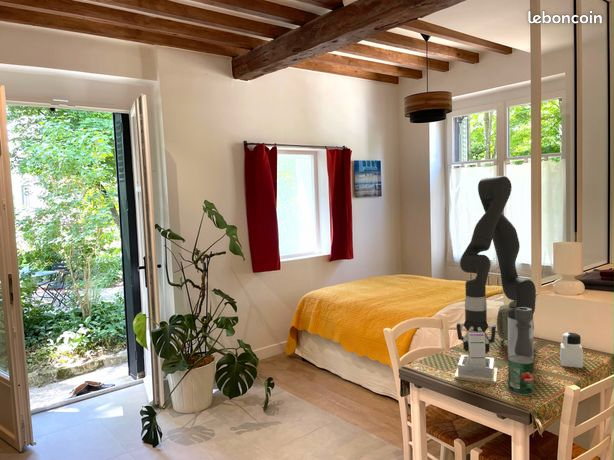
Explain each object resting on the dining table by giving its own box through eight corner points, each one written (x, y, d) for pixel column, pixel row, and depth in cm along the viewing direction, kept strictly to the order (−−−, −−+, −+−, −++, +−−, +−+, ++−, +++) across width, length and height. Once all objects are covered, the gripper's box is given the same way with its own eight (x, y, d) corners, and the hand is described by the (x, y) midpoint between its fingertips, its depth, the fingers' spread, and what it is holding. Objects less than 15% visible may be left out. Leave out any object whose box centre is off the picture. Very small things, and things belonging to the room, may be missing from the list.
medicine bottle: (581, 362, 181) (581, 332, 180) (583, 368, 174) (583, 337, 174) (560, 360, 184) (560, 330, 183) (561, 366, 177) (561, 335, 177)
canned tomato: (509, 384, 162) (509, 353, 161) (534, 388, 158) (534, 356, 157) (506, 392, 155) (506, 360, 155) (532, 397, 151) (532, 364, 151)
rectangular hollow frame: (497, 370, 175) (497, 357, 175) (495, 384, 163) (495, 370, 162) (459, 365, 181) (458, 353, 181) (454, 378, 169) (454, 365, 168)
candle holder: (532, 380, 165) (531, 311, 163) (513, 377, 168) (512, 309, 166) (534, 374, 170) (533, 307, 168) (515, 371, 173) (515, 306, 172)
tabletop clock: (533, 346, 202) (533, 289, 200) (533, 352, 194) (533, 293, 192) (497, 342, 208) (497, 288, 207) (496, 348, 200) (496, 291, 199)
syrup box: (486, 371, 169) (485, 332, 168) (469, 370, 170) (468, 332, 169) (483, 365, 174) (483, 328, 173) (467, 365, 175) (466, 327, 174)
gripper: (497, 306, 171) (497, 350, 172) (456, 304, 177) (457, 347, 178) (496, 311, 164) (496, 357, 165) (454, 308, 170) (454, 353, 171)
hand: (476, 351), depth 172 cm, fingers closed on syrup box, 6 cm apart
